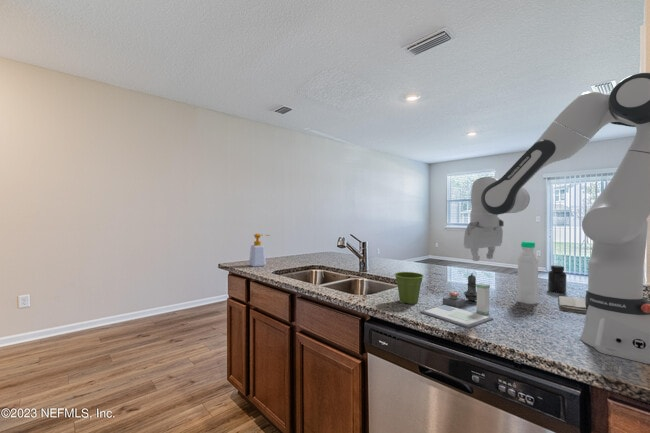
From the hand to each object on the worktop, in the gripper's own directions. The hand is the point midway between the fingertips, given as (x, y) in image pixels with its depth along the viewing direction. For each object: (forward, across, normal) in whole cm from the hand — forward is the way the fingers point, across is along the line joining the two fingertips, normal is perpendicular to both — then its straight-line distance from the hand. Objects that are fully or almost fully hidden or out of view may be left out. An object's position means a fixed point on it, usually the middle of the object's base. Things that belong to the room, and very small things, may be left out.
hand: (483, 259), depth 112 cm
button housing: (+20, 0, +12) cm, 23 cm away
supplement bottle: (+20, +60, -3) cm, 63 cm away
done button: (+18, +1, +12) cm, 22 cm away
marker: (+20, 0, 0) cm, 20 cm away
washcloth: (+20, +38, -17) cm, 46 cm away
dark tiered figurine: (+20, +10, +10) cm, 24 cm away
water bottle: (+20, +29, -3) cm, 35 cm away
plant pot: (+20, -11, +25) cm, 34 cm away
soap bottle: (+21, -27, +142) cm, 146 cm away
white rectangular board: (+20, -11, +4) cm, 23 cm away
